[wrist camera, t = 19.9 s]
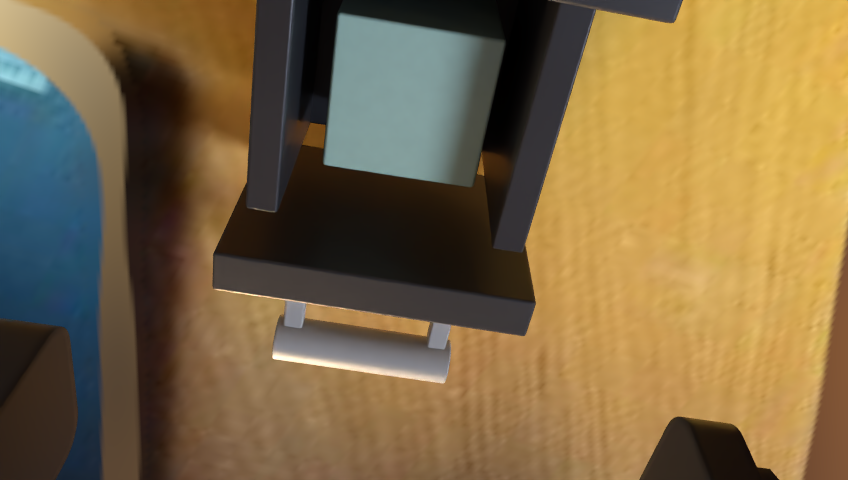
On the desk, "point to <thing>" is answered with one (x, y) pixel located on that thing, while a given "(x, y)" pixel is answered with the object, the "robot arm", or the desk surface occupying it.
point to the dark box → (634, 8)
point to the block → (413, 87)
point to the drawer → (392, 201)
